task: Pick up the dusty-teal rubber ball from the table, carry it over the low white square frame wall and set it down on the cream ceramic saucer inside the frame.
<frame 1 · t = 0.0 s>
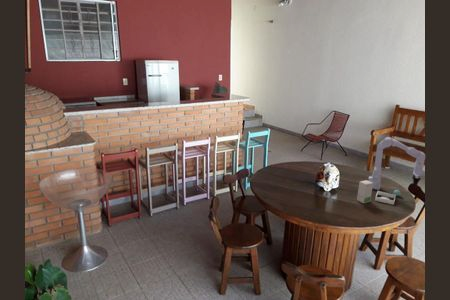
hand: (415, 183, 246), 10 cm above the table, fingers open, 7 cm apart
skincare box: (363, 201, 239), on the table
saucer: (385, 199, 242), resting in white square frame
white square frame: (385, 199, 242), on the table
ball: (396, 195, 248), on the table
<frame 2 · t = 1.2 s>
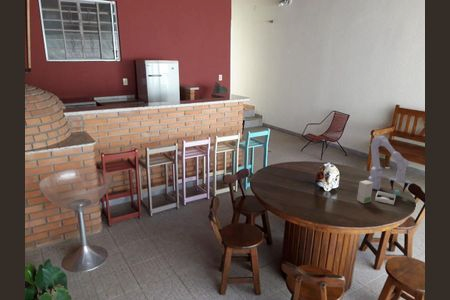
hand: (397, 190, 247), 5 cm above the table, fingers open, 7 cm apart
nothing on the table moved.
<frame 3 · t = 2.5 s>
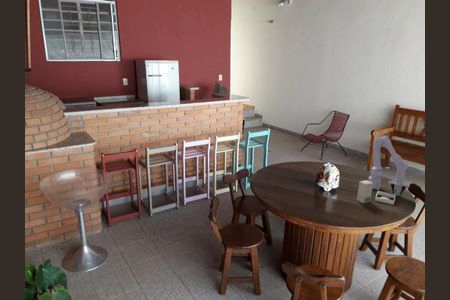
hand: (396, 193, 248), 2 cm above the table, fingers closed on ball, 5 cm apart
ball: (396, 195, 248), on the table, touching gripper
everything else where it was.
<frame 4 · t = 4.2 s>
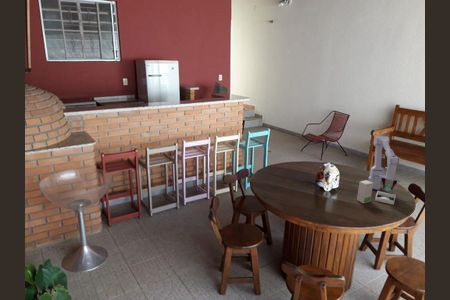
hand: (387, 188, 240), 9 cm above the table, fingers closed on ball, 5 cm apart
ball: (387, 190, 240), point 7 cm above the table, touching gripper
everything else where it was.
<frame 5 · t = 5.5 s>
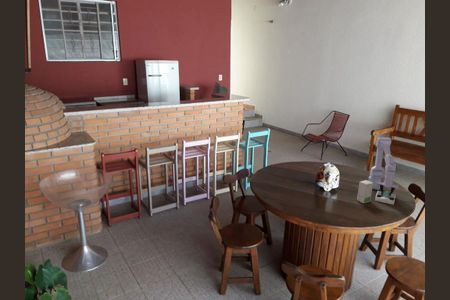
hand: (385, 195, 241), 3 cm above the table, fingers closed on ball, 5 cm apart
ball: (385, 197, 242), point 2 cm above the table, touching gripper
everything else where it was.
when the fingers open (3 cm above the table, at t = 6.3 s): ball drops 1 cm, resting on saucer.
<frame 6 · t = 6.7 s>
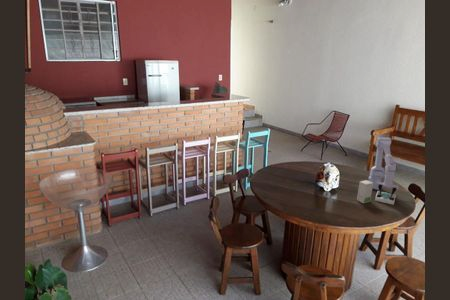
hand: (385, 195, 241), 3 cm above the table, fingers open, 7 cm apart
ball: (385, 198, 242), point 1 cm above the table, touching saucer
everything else where it was.
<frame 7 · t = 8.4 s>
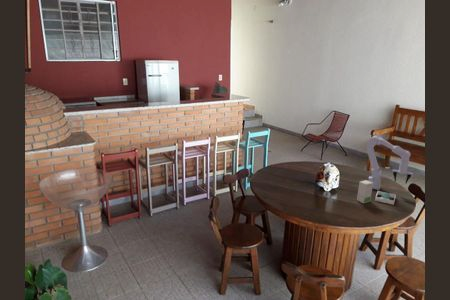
hand: (400, 182, 250), 10 cm above the table, fingers open, 7 cm apart
nothing on the table moved.
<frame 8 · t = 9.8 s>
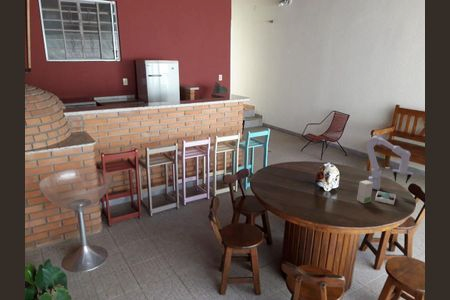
hand: (400, 182, 250), 10 cm above the table, fingers open, 7 cm apart
nothing on the table moved.
at the end: ball inside the target area on the white square frame (0.1 cm from its centre), point 0.5 cm above the white square frame's base; the gripper is holding nothing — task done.
